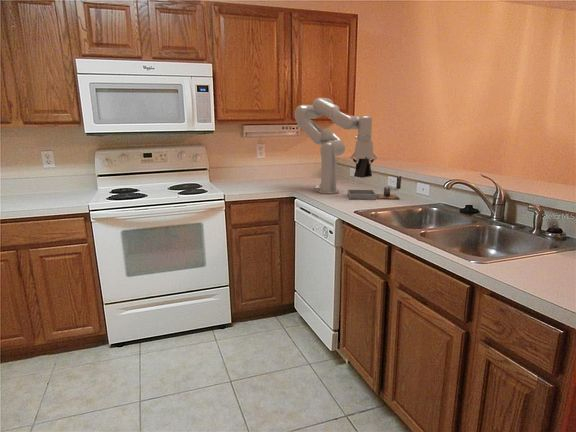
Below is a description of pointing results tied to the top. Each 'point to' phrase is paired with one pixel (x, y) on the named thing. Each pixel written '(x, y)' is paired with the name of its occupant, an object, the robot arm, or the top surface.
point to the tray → (362, 195)
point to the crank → (398, 186)
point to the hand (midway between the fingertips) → (362, 170)
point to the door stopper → (363, 169)
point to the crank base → (388, 197)
